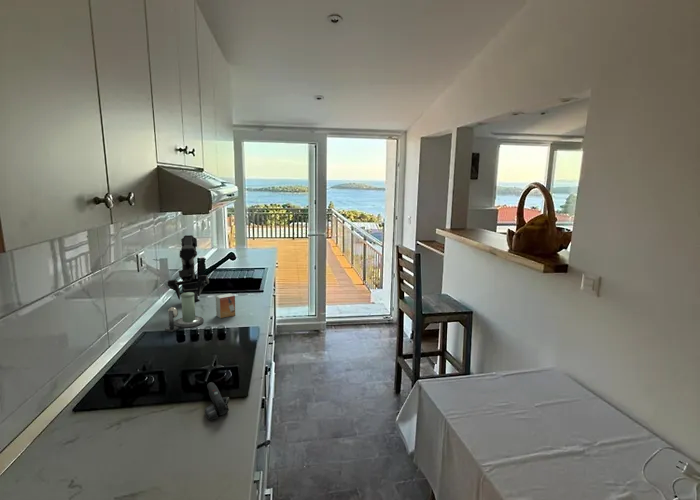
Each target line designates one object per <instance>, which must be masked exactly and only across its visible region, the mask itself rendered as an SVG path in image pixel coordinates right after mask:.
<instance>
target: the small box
mask: <svg viewBox="0 0 700 500" xmlns="http://www.w3.org/2000/svg"><path fill="white" fill-rule="evenodd" d="M215 315H216V317H218V318H219V319H224V318H228V317H235V316H236V296H235V294H232V292H231V293H225V294H220V295H216V296H215Z"/></svg>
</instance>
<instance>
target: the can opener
mask: <svg viewBox="0 0 700 500" xmlns="http://www.w3.org/2000/svg"><path fill="white" fill-rule="evenodd" d="M206 387H207V390H208V395H209V398H210V400H211V401H212V404H210V405H208V406H207V407H205V408H204V414H205V416H206V417H205V418H207V419H208V420H209V421H211V420H215V419H218V418H219V416H223V415H225V414H226V413H228V412H229V411H230V409H229V406H228V405H229V402H230V397H229V396H224V397H222V394H221V392H220V390H219V388H218V386H217V385H216V384H215V383H214V382H213V381H211V382H208V383H207V385H206ZM218 415H219V416H218Z"/></svg>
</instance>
